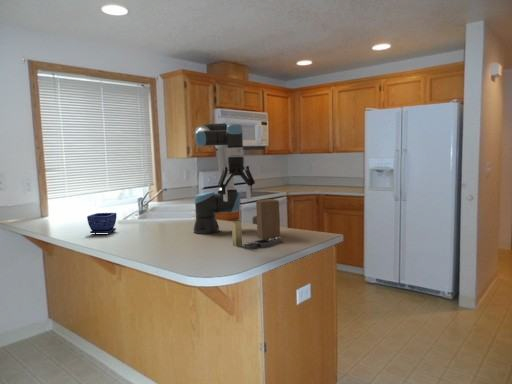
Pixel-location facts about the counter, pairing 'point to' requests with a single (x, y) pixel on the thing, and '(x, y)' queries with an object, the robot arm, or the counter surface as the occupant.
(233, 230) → the pin
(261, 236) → the wooden block
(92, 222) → the flower pot
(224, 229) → the counter surface
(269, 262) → the counter surface
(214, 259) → the counter surface
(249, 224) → the counter surface
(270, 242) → the ball-studded metal bracket
